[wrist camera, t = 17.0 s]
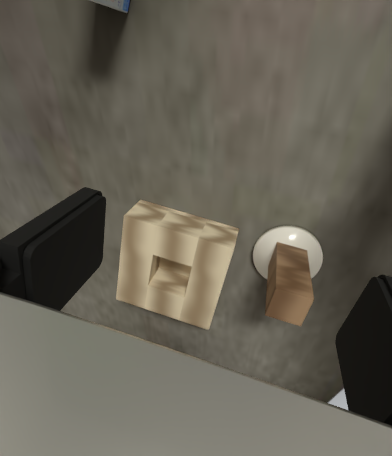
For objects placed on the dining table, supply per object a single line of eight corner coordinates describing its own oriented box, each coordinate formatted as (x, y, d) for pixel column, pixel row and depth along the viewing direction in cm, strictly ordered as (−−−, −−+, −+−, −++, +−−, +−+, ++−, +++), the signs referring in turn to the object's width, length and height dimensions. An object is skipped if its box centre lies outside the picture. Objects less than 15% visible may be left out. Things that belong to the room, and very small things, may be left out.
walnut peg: (307, 250, 45) (314, 299, 36) (296, 273, 47) (300, 326, 38) (277, 241, 46) (276, 288, 36) (268, 265, 48) (265, 315, 39)
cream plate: (333, 236, 44) (334, 240, 44) (307, 289, 49) (307, 293, 49) (264, 217, 46) (264, 220, 45) (245, 270, 51) (245, 274, 50)
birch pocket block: (239, 228, 47) (234, 248, 42) (215, 305, 55) (208, 329, 50) (140, 199, 49) (124, 215, 44) (131, 277, 57) (116, 299, 52)
